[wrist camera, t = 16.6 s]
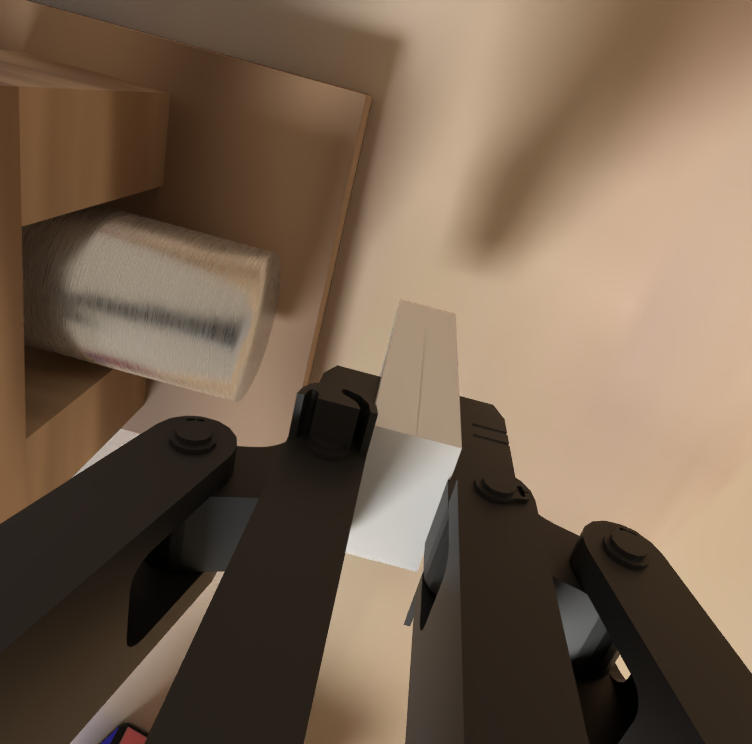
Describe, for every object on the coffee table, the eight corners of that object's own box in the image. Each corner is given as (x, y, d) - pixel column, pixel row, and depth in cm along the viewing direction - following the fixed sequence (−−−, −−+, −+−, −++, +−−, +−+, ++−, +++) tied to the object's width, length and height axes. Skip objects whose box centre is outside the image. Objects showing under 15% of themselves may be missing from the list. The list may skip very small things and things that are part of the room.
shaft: (289, 238, 16) (245, 276, 12) (266, 364, 18) (221, 430, 14) (-132, 122, 16) (-300, 127, 12) (-114, 260, 18) (-257, 300, 14)
